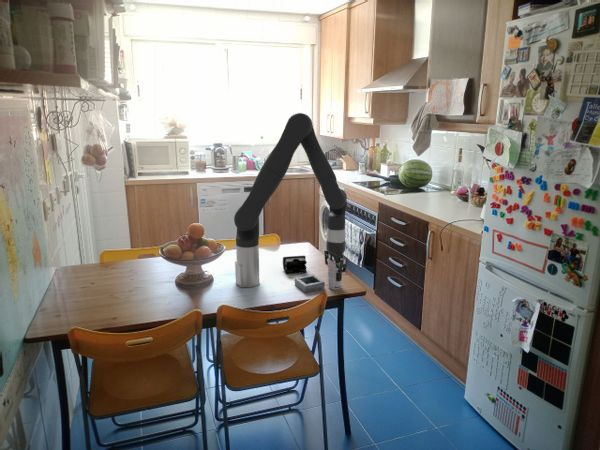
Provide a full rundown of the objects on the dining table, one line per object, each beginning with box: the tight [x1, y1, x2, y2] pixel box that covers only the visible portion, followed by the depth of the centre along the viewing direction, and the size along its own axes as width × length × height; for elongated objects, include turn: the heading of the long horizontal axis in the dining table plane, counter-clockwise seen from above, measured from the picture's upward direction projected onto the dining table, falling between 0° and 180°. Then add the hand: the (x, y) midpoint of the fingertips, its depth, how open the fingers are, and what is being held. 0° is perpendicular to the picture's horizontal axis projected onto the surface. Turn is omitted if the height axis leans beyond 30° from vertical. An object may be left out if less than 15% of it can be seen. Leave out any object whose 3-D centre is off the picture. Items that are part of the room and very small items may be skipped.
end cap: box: [282, 255, 308, 275], centre depth 200 cm, size 10×7×7 cm
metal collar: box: [294, 274, 326, 294], centre depth 183 cm, size 9×9×3 cm
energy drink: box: [327, 259, 342, 291], centre depth 182 cm, size 5×5×12 cm
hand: (334, 278), depth 182 cm, fingers closed on energy drink, 5 cm apart
